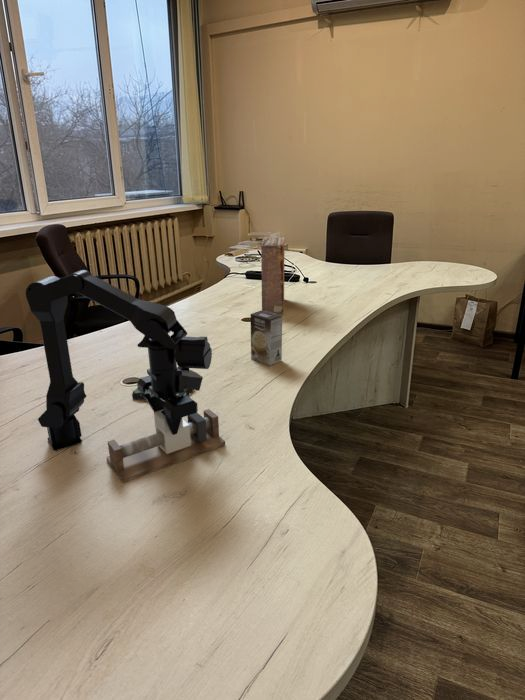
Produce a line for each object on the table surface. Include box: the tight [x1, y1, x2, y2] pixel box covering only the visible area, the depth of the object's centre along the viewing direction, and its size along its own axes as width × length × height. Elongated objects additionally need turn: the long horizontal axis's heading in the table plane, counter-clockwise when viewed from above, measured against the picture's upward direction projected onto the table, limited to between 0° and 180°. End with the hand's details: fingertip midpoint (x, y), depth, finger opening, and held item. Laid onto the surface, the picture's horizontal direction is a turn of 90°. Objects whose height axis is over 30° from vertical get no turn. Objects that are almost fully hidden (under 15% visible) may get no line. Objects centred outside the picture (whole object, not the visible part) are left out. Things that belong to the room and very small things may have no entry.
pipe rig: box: [106, 408, 226, 484], centre depth 111 cm, size 25×10×6 cm, turn 125°
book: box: [260, 235, 286, 315], centre depth 218 cm, size 25×9×30 cm, turn 176°
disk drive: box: [131, 387, 193, 401], centre depth 141 cm, size 10×3×15 cm
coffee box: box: [249, 309, 283, 366], centre depth 161 cm, size 9×6×16 cm
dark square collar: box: [186, 412, 207, 442], centre depth 115 cm, size 2×5×5 cm, turn 35°
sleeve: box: [153, 409, 191, 454], centre depth 111 cm, size 6×5×8 cm
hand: (169, 428), depth 111 cm, fingers closed on sleeve, 5 cm apart
